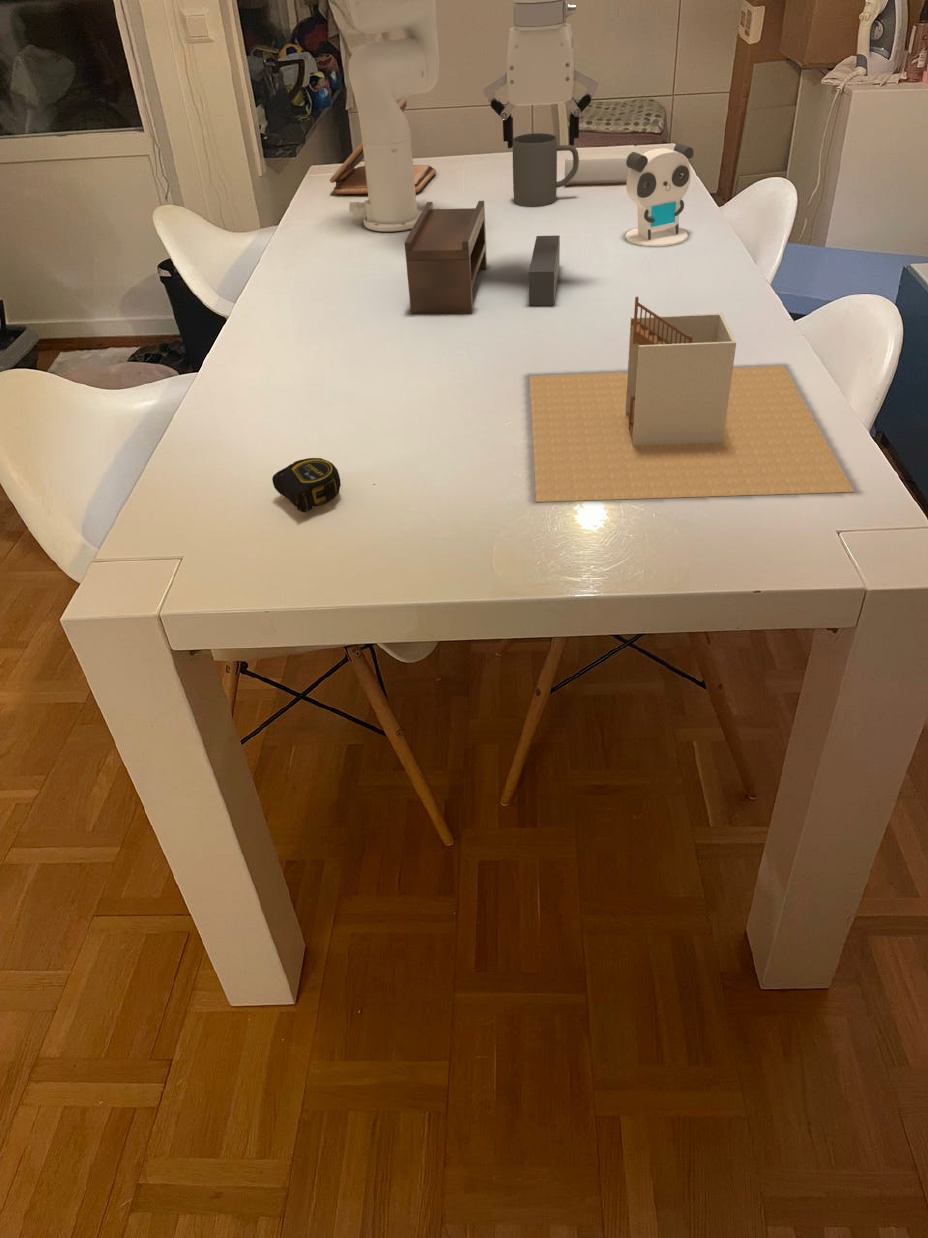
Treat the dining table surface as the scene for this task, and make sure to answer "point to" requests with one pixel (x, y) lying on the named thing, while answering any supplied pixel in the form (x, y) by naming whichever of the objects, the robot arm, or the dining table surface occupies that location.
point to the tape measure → (308, 483)
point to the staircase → (677, 423)
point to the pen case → (544, 271)
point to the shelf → (445, 259)
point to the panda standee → (658, 194)
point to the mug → (538, 168)
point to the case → (355, 178)
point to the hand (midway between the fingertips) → (541, 144)
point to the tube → (598, 171)
